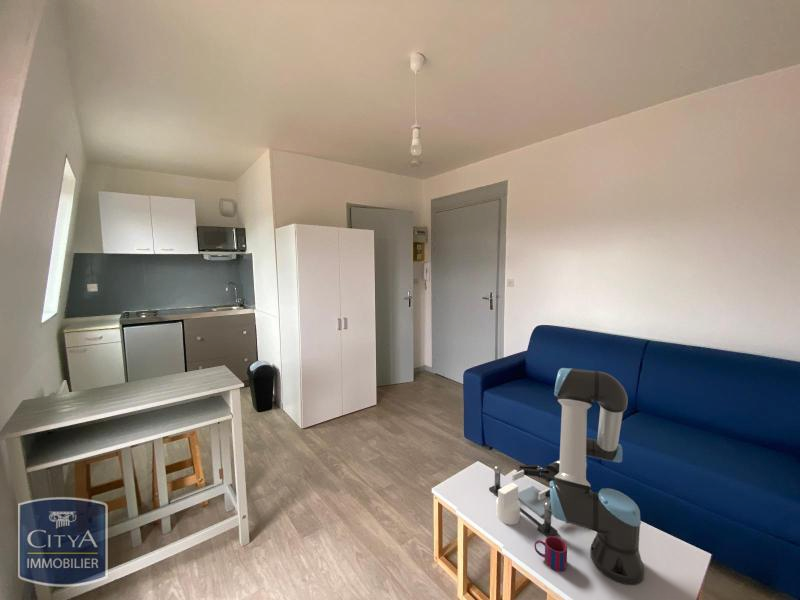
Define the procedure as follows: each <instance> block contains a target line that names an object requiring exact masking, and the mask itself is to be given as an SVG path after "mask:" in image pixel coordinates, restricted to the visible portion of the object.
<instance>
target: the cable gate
mask: <svg viewBox="0 0 800 600" xmlns="http://www.w3.org/2000/svg"><path fill="white" fill-rule="evenodd" d="M493 473H494V485H492V486H489V488H488V491H490V493H492V494H493V495H495V497H496V498H497V497H498V490H499V489H501V488H503V487H502V486H501V473H502V468H501V467H500V466H499V465H496V466H494V468H493ZM543 506H544V516H543V520H544V521H543V523H540V521H538V520H537V519H536V518H534V517H533V516H532V515H531V514H530V513H528V512H527V511H525V510H524V509H523V508H522V507H520V513H521V512H522V514H523V515H525V516H526V517H527V518H529V519H530V520H532V522H534V523H535V524H536V525H537V529H536V530H537V531H538V532H539V533H540V534H542V535H543V536H544V537H546V538H547V537H550V536H554V537H556V536H557V535H558V529H556V528H554V527H553V526H552V512H551V511H552V509H551V503H550V502H548V501H547V502H545V503H544V505H543Z"/></svg>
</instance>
